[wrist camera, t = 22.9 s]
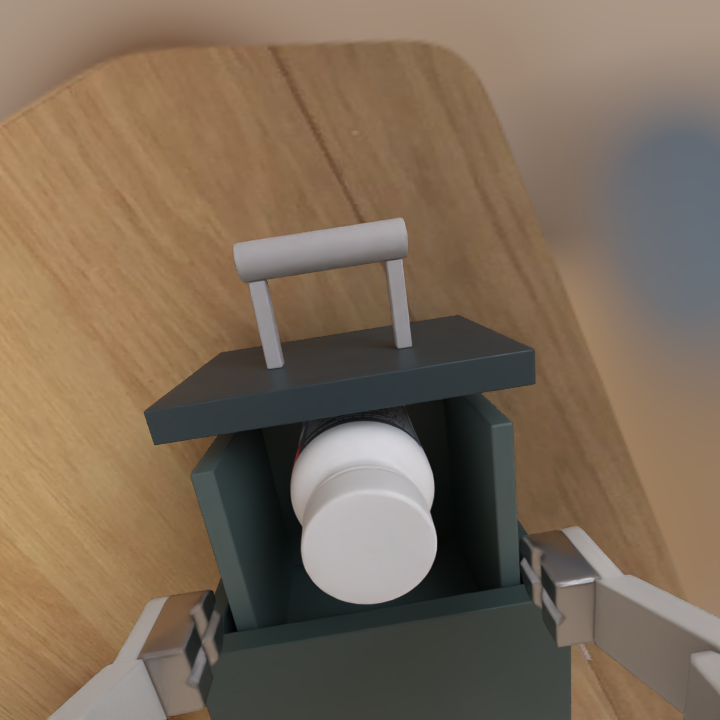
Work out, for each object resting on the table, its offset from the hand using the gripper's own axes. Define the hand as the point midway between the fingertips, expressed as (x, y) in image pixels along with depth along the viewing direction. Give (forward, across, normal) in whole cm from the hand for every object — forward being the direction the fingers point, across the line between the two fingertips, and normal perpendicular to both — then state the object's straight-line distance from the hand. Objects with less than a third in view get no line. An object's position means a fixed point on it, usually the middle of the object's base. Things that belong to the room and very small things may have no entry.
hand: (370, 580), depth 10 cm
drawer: (+11, 0, 0) cm, 11 cm away
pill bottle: (+10, 0, 0) cm, 10 cm away
